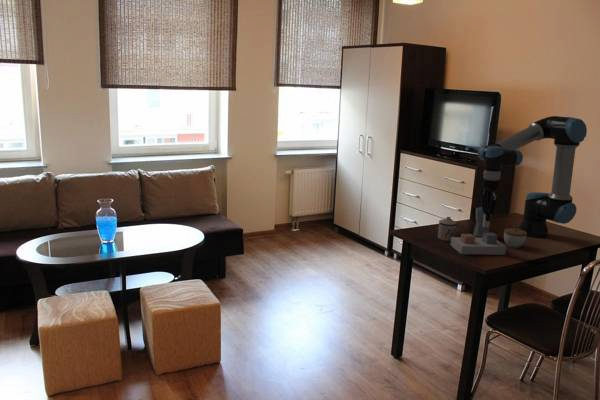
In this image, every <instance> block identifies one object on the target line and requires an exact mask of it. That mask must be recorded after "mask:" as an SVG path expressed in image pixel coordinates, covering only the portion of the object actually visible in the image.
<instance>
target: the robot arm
mask: <svg viewBox="0 0 600 400" xmlns="http://www.w3.org/2000/svg"><path fill="white" fill-rule="evenodd" d="M587 131H588V128H587V124H586V123H585V122H584V121H583V120H582V119H581V118H577V117H573V116H572V117H570V116H559V115H550V116H548V117H547V116H546V117H543V118H542V119H539V120H536V121H534V122H532V123H530V124H529V125H528V126H527V127H526V128H524V129H522V130H520V131H518V132H516V133H514V134H512V135H510V136H508V137H506V138H503V139H501V140H500V141H497V142H496V143H493V144H491V145H481V146H480V147H479V148H478V150H477V157H478V159H479V160H481V161H483V162H484V168H483V172H482V174H483V177H482V178H483V179H482V188H484V189H483V190H481V207H482V211H483V212H484V218H483V227H489V228H490V225H491V220H490V216H491V214H492V215H494V212H495V208H496V206H497V205H496V204H497V201H498V199H499V196H498V195H496V190H497V189H499V188H500V180H501V176H502V175H501V172H502V168H503V167H515V166H519V165H521V163H522V162H523V159H524V157H523V153H522V152H521V151H520V150H519V149H520V148H522V147H524V146H526V145H528V144H531V143H532V142H534V141H541V140H543V139H550V140H553V145H554V146H555V147H556V150H555V158H554V167H553V176H552V183H551V184H552V186H551V192H550V193H548V192H539V191H538V192H535V191H533V192H528V193H527V194H526V197H525V203H524V208H523V209H524V210H523V216H522V217H523V218H522V220H521V222H520V224H519V226H518V228H517V229H520V230H523V231H526V232H527V235H526V237H531V238H547V237H548V235H549V229H548V226H547V225H548V224H547V220H548V221H552V222H555V223H557V224H561V225H562V224H563V225H565V224H569V223H570V222H571V221H572V220H573V219H574V218H575V216H576V213H577V205H576V204H575V203H574V202H573V199H574V198H573V196H572V195H571V188H572V179H573V172H574V171H573V170H574V162H575V157H576V149H577V148H578V147H579V146H580V144H581V143H582V142H583V141H585V138H586V137H587V133H588V132H587ZM491 217H492V216H491Z"/></svg>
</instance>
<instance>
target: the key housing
mask: <svg viewBox="0 0 600 400" xmlns="http://www.w3.org/2000/svg"><path fill="white" fill-rule="evenodd" d="M450 246H452V247H451V248H454V249H455V250H456V251H457V252H458V253H459V254H460V255H495V256H496V255H498V256H501V255H502V256H503V255H504V256H506V255H507V254H506V253H507V249H508V248H507V246H506V245H505V244H503V243H502V242H501V241H499V240H497V243H496V244H486V243H484V242H483V241H482V238H480V237H475V244H464V243H463V242H462V241H461V236H460V237H457V236H455V237H451V241H450Z"/></svg>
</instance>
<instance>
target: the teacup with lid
mask: <svg viewBox="0 0 600 400" xmlns="http://www.w3.org/2000/svg"><path fill="white" fill-rule="evenodd" d="M458 231H459V224H458V223H457V221H455V220H453V219H452V218H451V216H446V218H444V219H440V220H439V221H438V231H437V238H438V240H441V241H446V242H451V237H456V233H457V232H458Z"/></svg>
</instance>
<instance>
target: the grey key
mask: <svg viewBox="0 0 600 400" xmlns="http://www.w3.org/2000/svg"><path fill="white" fill-rule="evenodd" d="M482 241H483V242H484V243H486V244H496V243H497V241H498V234H496V233H494V232H489V233H483V238H482Z"/></svg>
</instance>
